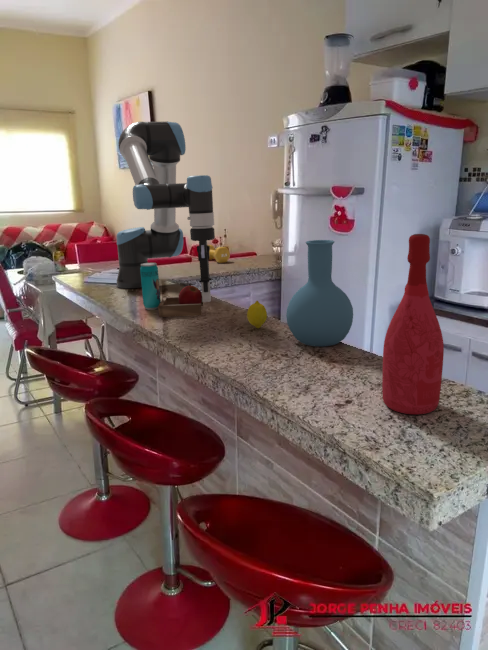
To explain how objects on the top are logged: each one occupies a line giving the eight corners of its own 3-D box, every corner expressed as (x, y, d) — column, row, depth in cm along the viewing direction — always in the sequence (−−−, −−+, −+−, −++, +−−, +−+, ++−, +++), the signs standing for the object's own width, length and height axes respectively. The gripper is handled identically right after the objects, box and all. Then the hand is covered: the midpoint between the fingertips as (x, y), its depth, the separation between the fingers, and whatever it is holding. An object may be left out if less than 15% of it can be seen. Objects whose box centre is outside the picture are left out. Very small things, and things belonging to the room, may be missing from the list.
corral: (164, 307, 170) (163, 297, 169) (203, 305, 170) (202, 295, 169) (159, 317, 157) (158, 306, 156) (201, 315, 157) (200, 304, 156)
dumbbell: (231, 262, 266) (231, 246, 264) (216, 264, 262) (216, 248, 260) (214, 258, 282) (213, 243, 280) (199, 260, 277) (198, 245, 275)
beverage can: (157, 310, 166) (153, 265, 162) (141, 310, 167) (136, 265, 163) (163, 306, 171) (160, 262, 167) (147, 306, 172) (143, 262, 168)
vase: (360, 335, 131) (363, 238, 124) (342, 354, 117) (343, 246, 110) (300, 329, 138) (300, 237, 132) (276, 346, 124) (274, 244, 118)
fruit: (244, 327, 142) (243, 299, 140) (262, 324, 144) (261, 297, 142) (251, 332, 137) (251, 303, 135) (270, 329, 139) (269, 301, 137)
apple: (180, 313, 160) (178, 288, 158) (178, 308, 168) (177, 284, 166) (203, 311, 161) (202, 286, 159) (201, 306, 169) (200, 282, 167)
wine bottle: (416, 423, 83) (427, 238, 75) (369, 404, 90) (375, 234, 82) (451, 406, 88) (465, 233, 80) (404, 389, 96) (412, 230, 88)
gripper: (191, 226, 163) (196, 297, 169) (188, 229, 150) (193, 306, 156) (214, 225, 163) (218, 296, 169) (213, 228, 150) (218, 305, 157)
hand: (206, 301), depth 163 cm, fingers closed
